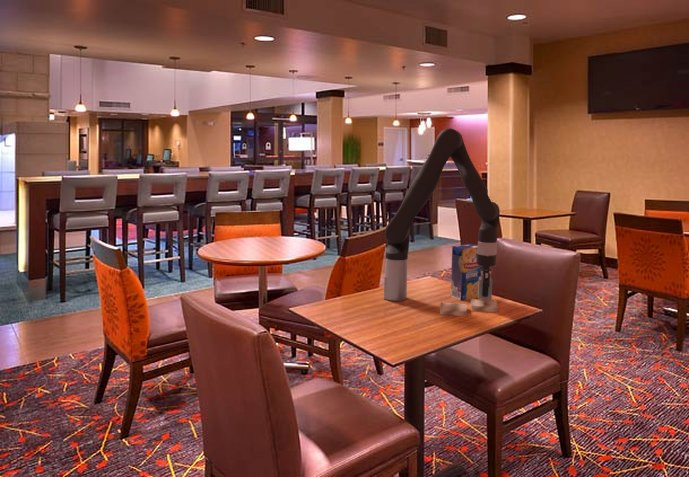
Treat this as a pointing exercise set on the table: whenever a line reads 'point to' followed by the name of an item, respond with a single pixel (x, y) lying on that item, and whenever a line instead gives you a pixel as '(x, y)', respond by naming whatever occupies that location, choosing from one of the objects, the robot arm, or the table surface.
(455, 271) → the blue food carton
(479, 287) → the block
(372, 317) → the table surface
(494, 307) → the stand
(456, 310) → the stand
